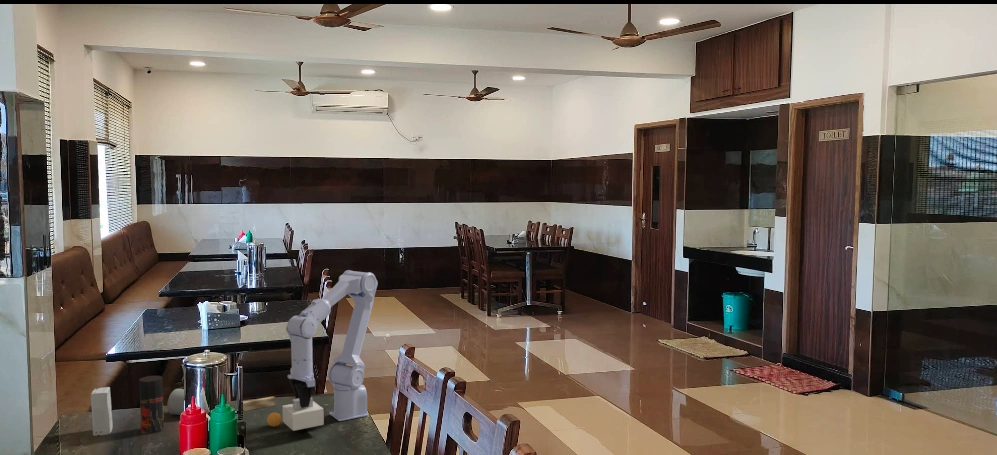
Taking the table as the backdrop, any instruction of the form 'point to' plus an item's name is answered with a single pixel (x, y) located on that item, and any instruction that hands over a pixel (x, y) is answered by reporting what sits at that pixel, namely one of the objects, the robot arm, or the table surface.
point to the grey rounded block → (176, 402)
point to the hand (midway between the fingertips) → (303, 405)
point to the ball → (274, 419)
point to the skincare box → (101, 411)
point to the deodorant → (151, 404)
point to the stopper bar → (258, 403)
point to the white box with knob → (303, 415)
